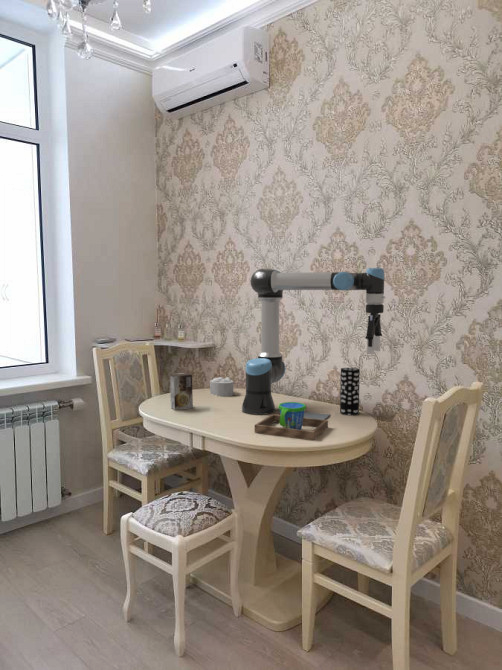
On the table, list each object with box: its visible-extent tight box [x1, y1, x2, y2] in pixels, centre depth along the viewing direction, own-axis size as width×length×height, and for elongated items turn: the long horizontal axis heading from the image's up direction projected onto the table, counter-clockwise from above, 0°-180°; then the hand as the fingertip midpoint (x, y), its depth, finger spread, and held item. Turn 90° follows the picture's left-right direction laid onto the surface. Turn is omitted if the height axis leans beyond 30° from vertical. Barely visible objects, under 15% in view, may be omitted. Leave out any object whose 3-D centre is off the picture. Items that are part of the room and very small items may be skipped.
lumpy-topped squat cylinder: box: [209, 376, 234, 397], centre depth 274 cm, size 10×13×9 cm
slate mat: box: [303, 411, 331, 420], centre depth 224 cm, size 15×15×1 cm
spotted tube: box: [339, 367, 361, 416], centre depth 232 cm, size 8×8×20 cm
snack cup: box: [277, 401, 307, 430], centre depth 205 cm, size 16×10×10 cm
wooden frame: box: [254, 413, 329, 441], centre depth 205 cm, size 24×19×3 cm
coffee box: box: [169, 372, 194, 411], centre depth 242 cm, size 9×6×16 cm
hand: (373, 352), depth 226 cm, fingers open, 13 cm apart
